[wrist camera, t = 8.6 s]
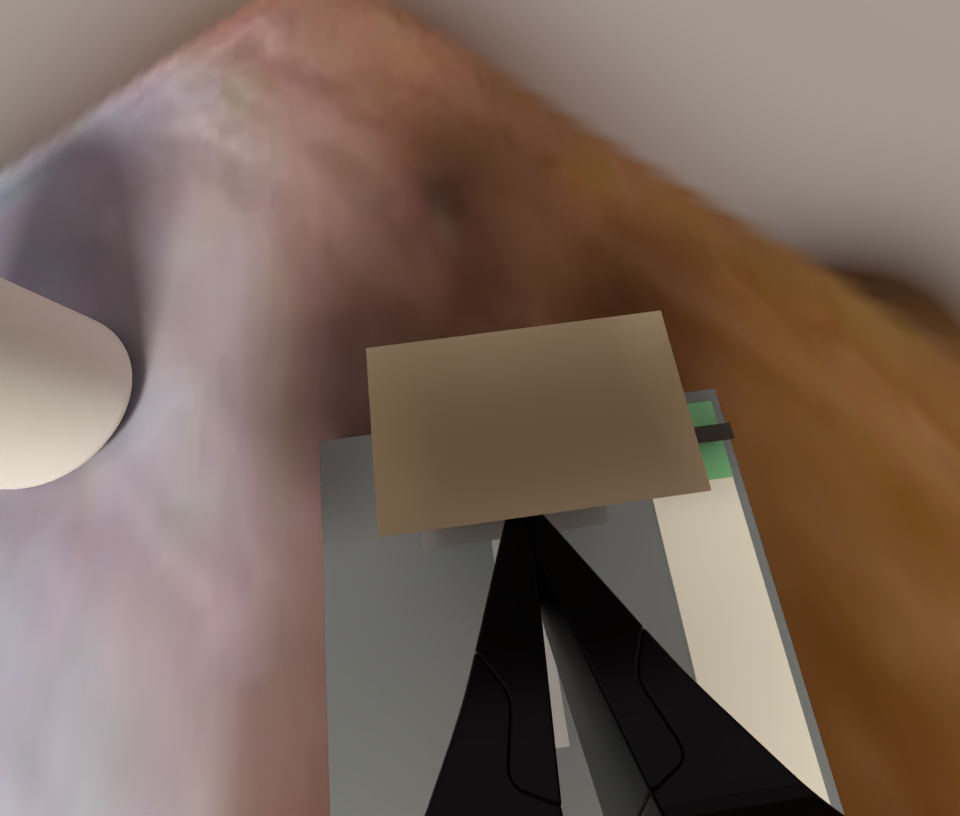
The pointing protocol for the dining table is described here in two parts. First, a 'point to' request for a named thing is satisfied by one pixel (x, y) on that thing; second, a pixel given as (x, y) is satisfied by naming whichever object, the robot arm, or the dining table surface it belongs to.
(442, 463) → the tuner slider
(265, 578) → the dining table surface
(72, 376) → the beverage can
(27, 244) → the dining table surface
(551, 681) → the board
